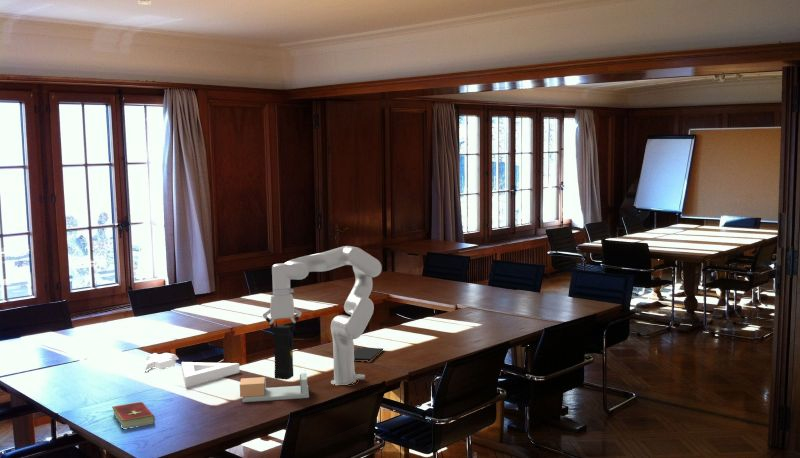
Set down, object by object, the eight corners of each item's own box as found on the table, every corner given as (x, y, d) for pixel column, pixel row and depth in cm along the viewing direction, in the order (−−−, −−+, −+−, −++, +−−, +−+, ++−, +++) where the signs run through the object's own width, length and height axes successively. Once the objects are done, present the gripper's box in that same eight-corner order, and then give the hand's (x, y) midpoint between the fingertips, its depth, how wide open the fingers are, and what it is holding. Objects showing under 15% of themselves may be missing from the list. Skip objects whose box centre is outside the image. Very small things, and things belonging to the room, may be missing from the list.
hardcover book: (143, 410, 304) (142, 400, 303) (155, 424, 286) (154, 414, 286) (112, 416, 298) (112, 405, 297) (122, 430, 280) (122, 419, 279)
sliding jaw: (266, 388, 324) (265, 376, 323) (265, 395, 314) (265, 382, 313) (241, 390, 322) (241, 378, 322) (240, 397, 312) (239, 384, 312)
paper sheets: (176, 376, 358) (176, 365, 357) (134, 378, 354) (133, 367, 354) (184, 358, 392) (184, 348, 392) (146, 361, 388) (145, 351, 388)
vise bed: (307, 388, 329) (307, 372, 328) (309, 397, 315) (308, 380, 314) (244, 392, 324) (243, 376, 324) (242, 402, 310) (241, 384, 310)
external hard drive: (384, 354, 391) (383, 348, 391) (370, 364, 369) (370, 359, 369) (358, 352, 395) (358, 347, 395) (343, 363, 373) (343, 357, 373)
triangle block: (182, 374, 360) (181, 361, 359) (235, 368, 368) (235, 356, 368) (185, 390, 331) (185, 377, 331) (243, 384, 340) (243, 370, 340)
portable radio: (296, 376, 321) (295, 319, 320) (290, 380, 316) (289, 322, 314) (279, 375, 323) (278, 319, 322) (273, 378, 318) (272, 321, 316)
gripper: (301, 290, 322) (303, 329, 323) (261, 291, 319) (262, 331, 321) (302, 292, 315) (303, 332, 316) (260, 294, 312) (262, 335, 313)
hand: (283, 332), depth 318 cm, fingers closed on portable radio, 8 cm apart
